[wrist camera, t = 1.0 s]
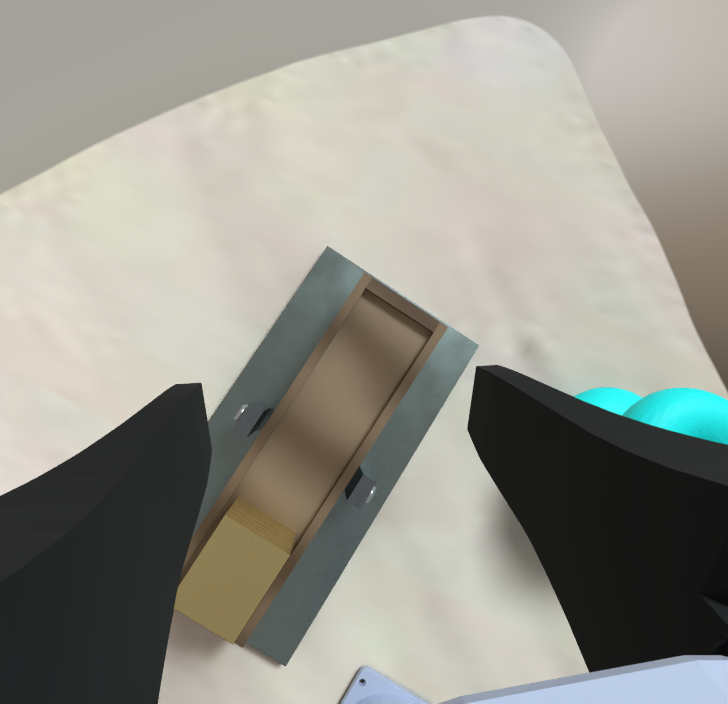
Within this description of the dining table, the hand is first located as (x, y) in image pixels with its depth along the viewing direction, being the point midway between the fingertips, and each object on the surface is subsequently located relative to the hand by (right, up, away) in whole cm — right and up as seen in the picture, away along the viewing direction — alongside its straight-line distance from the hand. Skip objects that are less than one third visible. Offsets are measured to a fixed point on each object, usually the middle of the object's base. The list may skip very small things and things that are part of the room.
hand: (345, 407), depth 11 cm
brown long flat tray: (-3, -5, +17) cm, 18 cm away
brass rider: (-7, -12, +16) cm, 21 cm away
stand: (-4, -6, +21) cm, 22 cm away
